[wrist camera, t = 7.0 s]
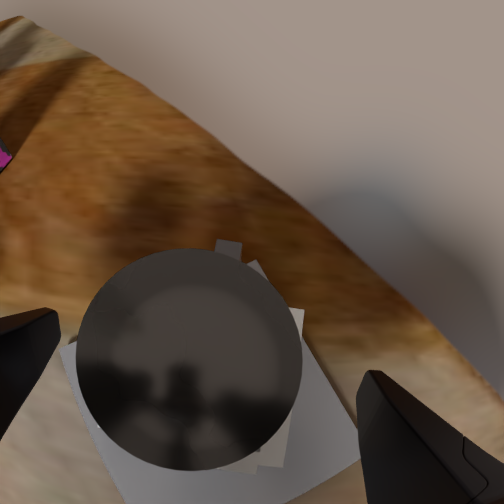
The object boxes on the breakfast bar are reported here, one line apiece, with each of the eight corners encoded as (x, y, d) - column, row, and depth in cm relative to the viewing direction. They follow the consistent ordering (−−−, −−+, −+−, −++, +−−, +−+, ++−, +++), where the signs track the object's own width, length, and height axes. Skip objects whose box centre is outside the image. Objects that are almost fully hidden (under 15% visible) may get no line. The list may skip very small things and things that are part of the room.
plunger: (255, 442, 11) (284, 487, 5) (149, 421, 11) (57, 430, 5) (271, 342, 13) (312, 267, 7) (170, 324, 13) (111, 233, 7)
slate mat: (364, 450, 14) (370, 451, 13) (160, 545, 11) (157, 550, 10) (255, 265, 18) (256, 259, 18) (65, 351, 15) (58, 349, 14)
